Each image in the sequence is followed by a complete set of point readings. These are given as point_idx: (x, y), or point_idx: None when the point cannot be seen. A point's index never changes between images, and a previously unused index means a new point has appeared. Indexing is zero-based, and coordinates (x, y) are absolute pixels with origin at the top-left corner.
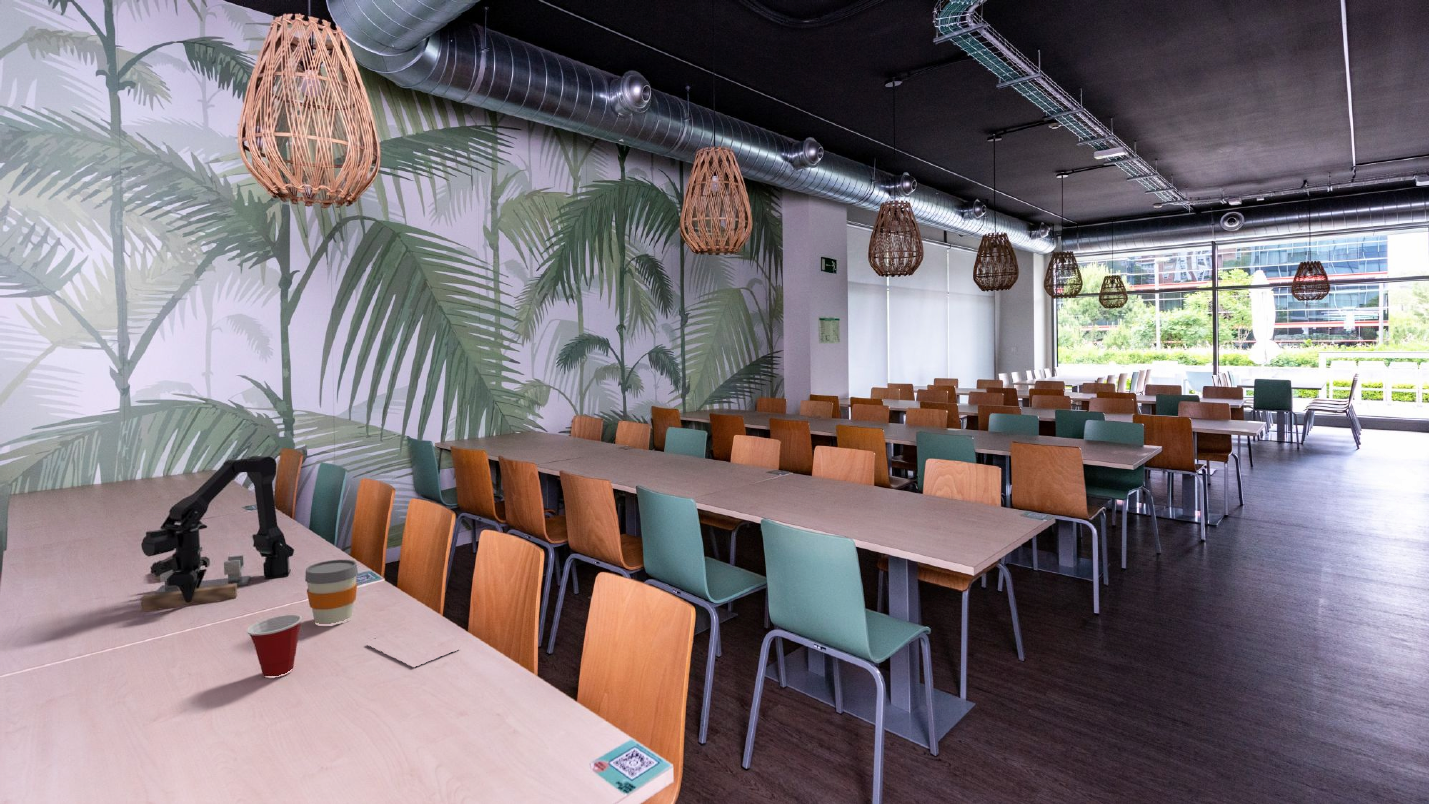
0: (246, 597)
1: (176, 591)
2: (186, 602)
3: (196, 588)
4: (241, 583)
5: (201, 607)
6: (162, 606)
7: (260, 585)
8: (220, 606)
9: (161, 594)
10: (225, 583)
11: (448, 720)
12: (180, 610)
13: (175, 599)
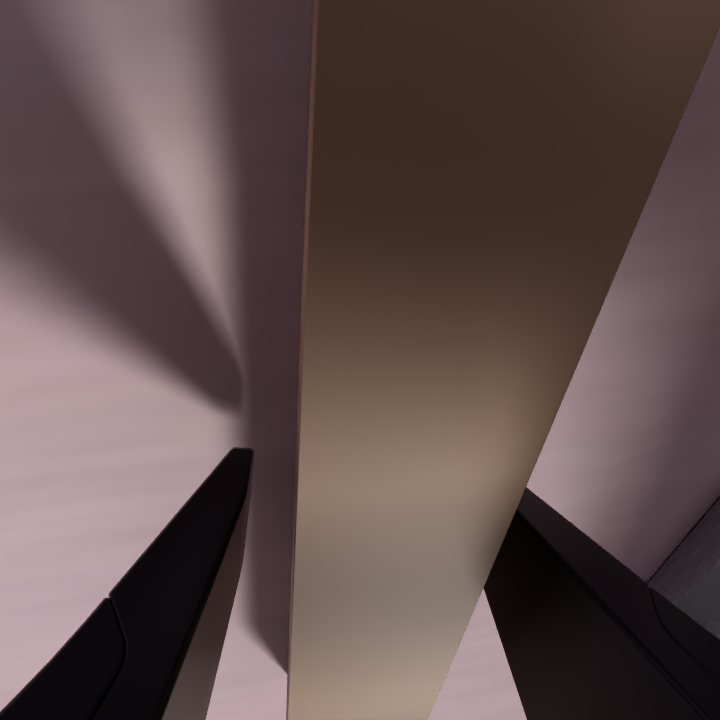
0: (273, 709)
1: (514, 418)
2: (233, 451)
3: (463, 628)
4: None
5: (126, 536)
6: (309, 107)
7: (507, 710)
8: None
9: (518, 65)
10: (696, 612)
11: None
12: (80, 371)
13: (301, 354)
